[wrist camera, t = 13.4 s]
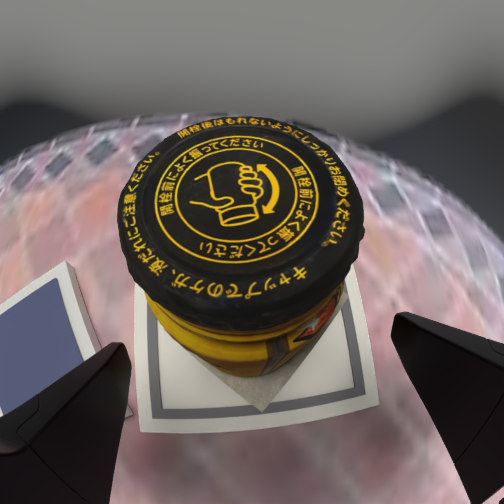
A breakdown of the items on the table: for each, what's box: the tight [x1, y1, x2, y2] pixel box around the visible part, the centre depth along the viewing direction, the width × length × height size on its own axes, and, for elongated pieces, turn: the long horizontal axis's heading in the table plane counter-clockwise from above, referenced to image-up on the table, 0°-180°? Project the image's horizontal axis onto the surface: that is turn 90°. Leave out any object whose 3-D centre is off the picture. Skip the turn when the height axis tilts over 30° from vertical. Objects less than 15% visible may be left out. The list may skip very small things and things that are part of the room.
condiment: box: [117, 116, 365, 412], centre depth 11 cm, size 7×8×12 cm
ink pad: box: [0, 261, 133, 418], centre depth 14 cm, size 11×11×2 cm
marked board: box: [134, 263, 379, 433], centre depth 17 cm, size 14×14×1 cm
